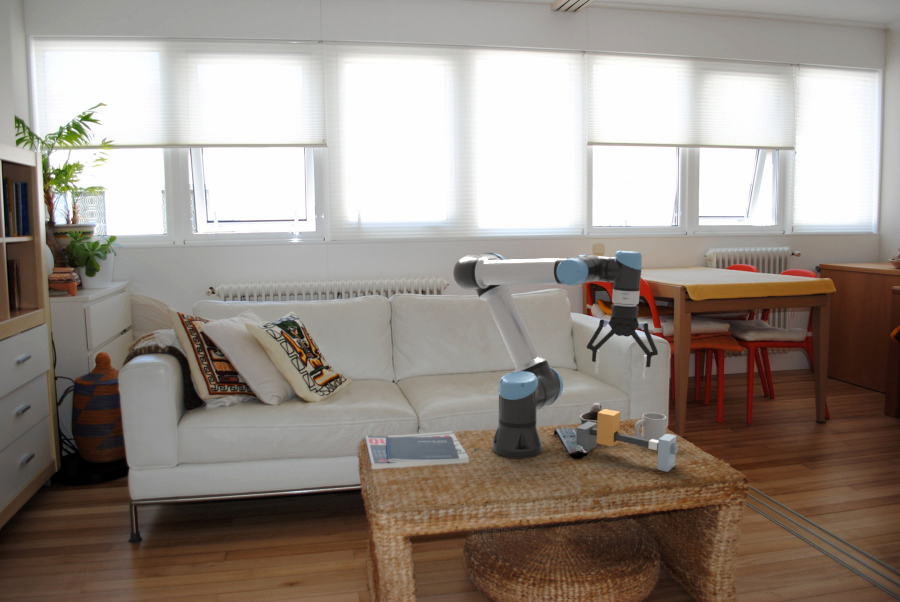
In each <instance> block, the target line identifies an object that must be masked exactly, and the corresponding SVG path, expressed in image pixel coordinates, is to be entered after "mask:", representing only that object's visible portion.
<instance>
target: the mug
mask: <svg viewBox="0 0 900 602" xmlns="http://www.w3.org/2000/svg"><path fill="white" fill-rule="evenodd" d="M602 408H603V407H602V404H601V403H599V402H595V403H593V404H592V406H591V409H590V410H589V411H585V412H584V413H582V414H580V415H579V419H580V426H581V425H582V424H584V423H586V422H588V421H589V422H594V423H597V418H598V412H600V411H602V410H603V409H602Z"/></svg>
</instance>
